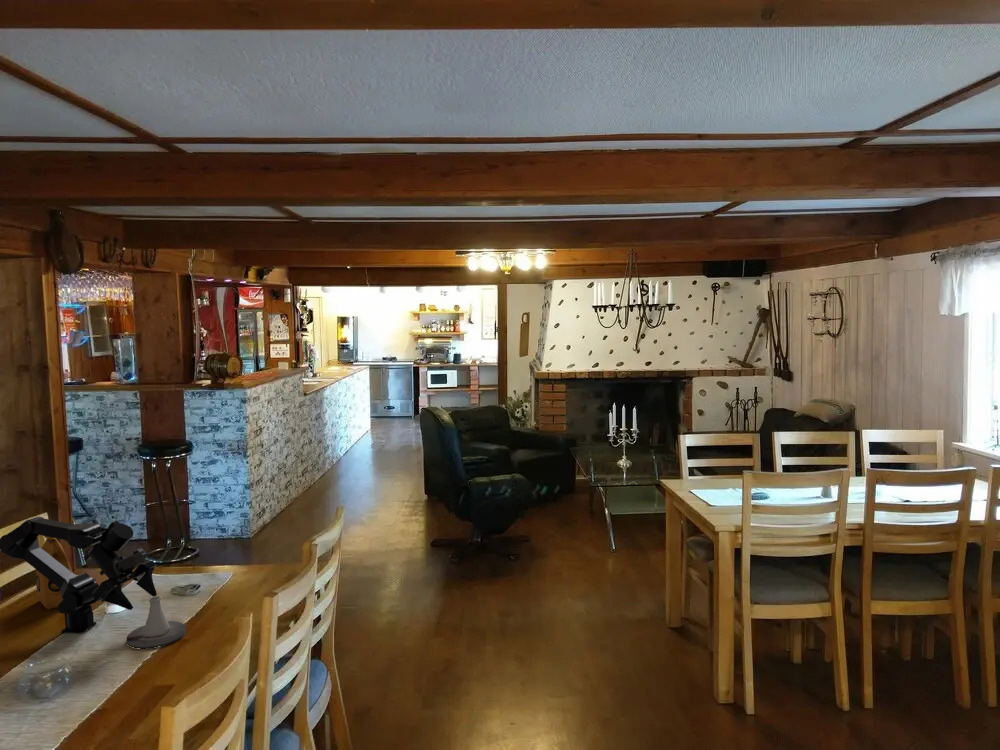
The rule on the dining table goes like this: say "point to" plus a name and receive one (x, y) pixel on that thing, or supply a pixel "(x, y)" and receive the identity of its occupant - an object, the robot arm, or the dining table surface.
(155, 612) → the flask
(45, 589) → the coffee package
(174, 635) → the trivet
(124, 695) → the dining table surface
